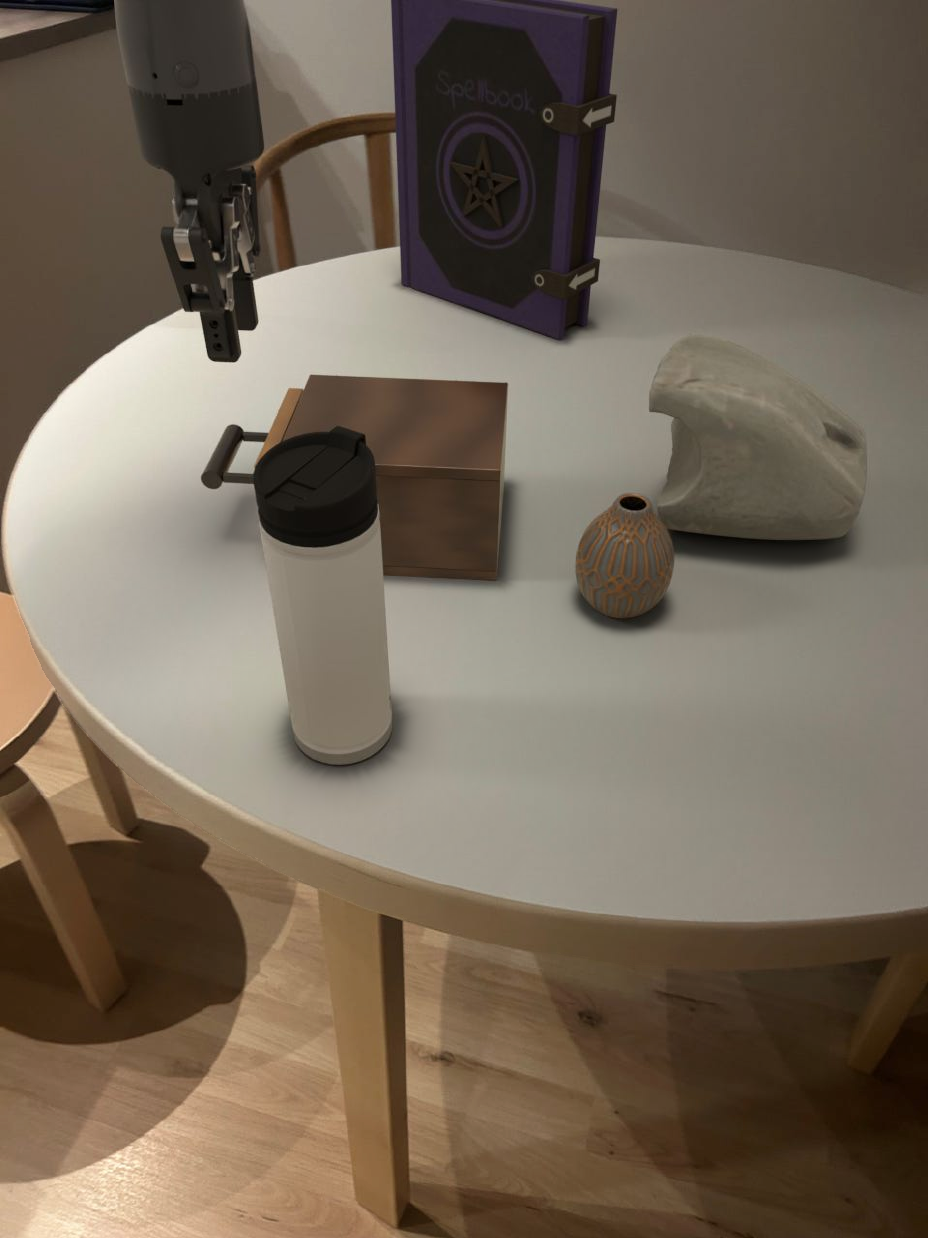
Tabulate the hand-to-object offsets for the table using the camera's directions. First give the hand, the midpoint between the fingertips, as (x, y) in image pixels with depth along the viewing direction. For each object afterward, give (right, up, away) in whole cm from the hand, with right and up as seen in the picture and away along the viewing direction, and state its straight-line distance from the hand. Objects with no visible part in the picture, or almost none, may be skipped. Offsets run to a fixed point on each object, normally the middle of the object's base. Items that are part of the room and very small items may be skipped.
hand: (234, 342), depth 68 cm
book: (+20, +16, +42) cm, 49 cm away
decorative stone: (+39, -12, +11) cm, 42 cm away
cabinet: (+11, -12, +10) cm, 19 cm away
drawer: (+7, -11, +9) cm, 16 cm away
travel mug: (+9, -27, -7) cm, 29 cm away
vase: (+28, -18, +3) cm, 33 cm away
